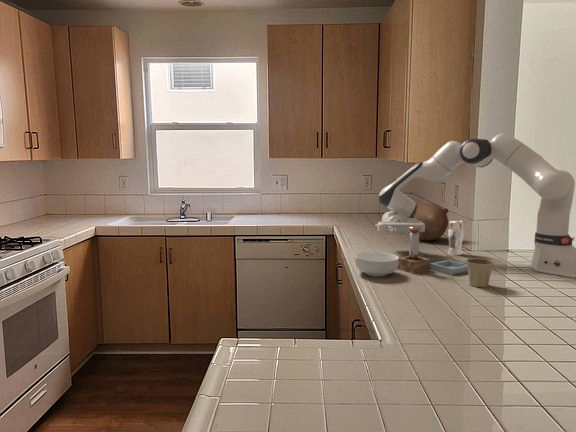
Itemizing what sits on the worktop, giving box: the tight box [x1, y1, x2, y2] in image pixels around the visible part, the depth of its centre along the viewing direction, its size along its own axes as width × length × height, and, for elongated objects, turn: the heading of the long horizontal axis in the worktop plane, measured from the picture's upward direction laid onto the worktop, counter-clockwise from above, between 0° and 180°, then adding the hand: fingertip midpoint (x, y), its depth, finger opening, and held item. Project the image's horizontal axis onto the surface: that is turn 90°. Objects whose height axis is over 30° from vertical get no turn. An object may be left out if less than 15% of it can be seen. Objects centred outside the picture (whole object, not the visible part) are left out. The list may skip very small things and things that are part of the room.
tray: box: [429, 259, 468, 277], centre depth 186 cm, size 11×11×2 cm
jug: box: [413, 202, 449, 241], centre depth 253 cm, size 20×20×30 cm
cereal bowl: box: [354, 251, 399, 278], centre depth 182 cm, size 17×17×7 cm
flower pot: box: [465, 257, 496, 288], centre depth 166 cm, size 9×9×9 cm
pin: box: [408, 226, 421, 261], centre depth 187 cm, size 5×5×17 cm
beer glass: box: [447, 220, 465, 256], centre depth 215 cm, size 7×7×15 cm
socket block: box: [396, 255, 431, 274], centre depth 188 cm, size 9×9×4 cm
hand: (405, 230), depth 199 cm, fingers open, 8 cm apart
